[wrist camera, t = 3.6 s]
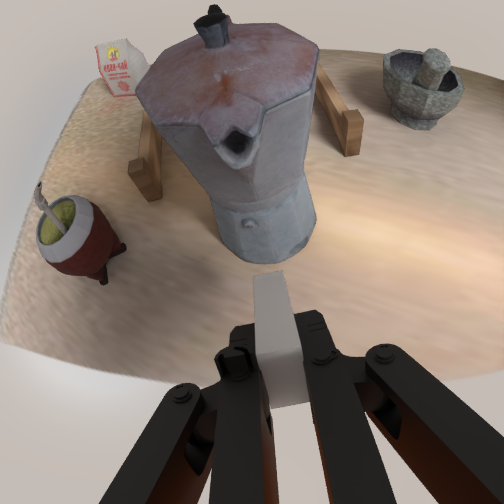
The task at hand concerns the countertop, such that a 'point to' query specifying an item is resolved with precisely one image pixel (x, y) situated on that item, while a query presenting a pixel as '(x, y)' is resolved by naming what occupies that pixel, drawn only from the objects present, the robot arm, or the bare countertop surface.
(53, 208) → the mate gourd
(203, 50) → the moka pot
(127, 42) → the white paper packet
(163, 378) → the countertop surface
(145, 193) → the bay
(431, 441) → the robot arm
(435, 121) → the mortar and pestle
